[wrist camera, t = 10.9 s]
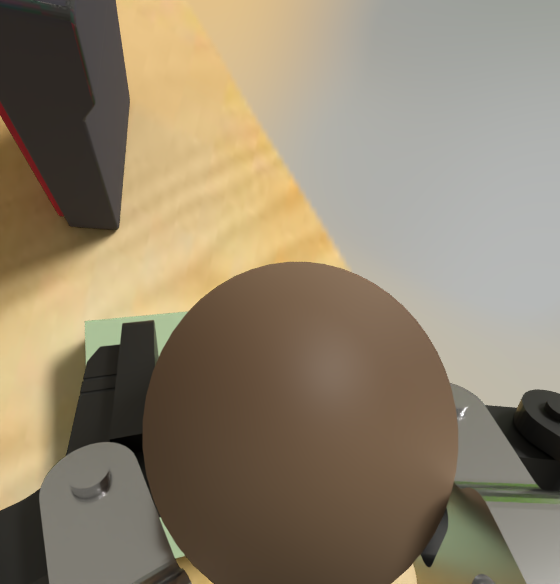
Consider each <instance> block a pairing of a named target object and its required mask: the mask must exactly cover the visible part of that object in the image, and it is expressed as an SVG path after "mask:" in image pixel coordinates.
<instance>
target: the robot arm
mask: <svg viewBox="0 0 560 584" xmlns="http://www.w3.org/2000/svg"><path fill="white" fill-rule="evenodd" d="M158 358H159V355H158V346H157V337H156V329H155V322H154V320H148V321H139V322H129V323H123V324H122V330H121V339H120V344H118V345H109V346H101V347H99V348H98V349H97V351H96V352H95V353H94V354H93V355H92V356H91V358H90V359H89V360H88V361H87V364H86V369H85V373H84V378H83V379H84V381H83V382H82V387H81V391H80V396H79V400H78V405H77V409H76V414H75V418H74V423H73V427H72V432H71V436H70V441H69V445H68V450H67V454H66V456H65V457H64V458H63V459H61V460H60V461H59V462H58V463H57V464H56V465H55V466H54V467H53V468H52V469H51V470H50V471H49V473H48V474H47V476H46V477H45V479H44V481H43V483H42V486H41V488H40V489H39V490H37V491H36V492H35V493H33V494H32V495H30V496H29V497H27V498H26V499H24V500H22V501H20V502H18V503H16V504H14V505H12V506H10V507H8V508H5V509H3V510H1V511H0V584H192V583H191V581H190V579H189V577H188V575H187V574H186V572H185V570H184V569H183V568H182V569H180V567H179V566H178V564H177V562H176V559H175V557H174V555H173V552H172V549H171V547H170V544H169V542H168V539H167V536H166V534H165V531H164V529H163V526H162V523H161V521H160V517H161V516H160V514H159V512H158V509H157V507H156V505H155V502H154V500H153V497H152V493H151V490H150V486H149V482H148V479H147V475H146V469H145V462H144V454H143V415H144V408H145V400H146V395H147V391H148V387H149V384H150V380H151V376H152V373H153V370H154V368H155V365H156V363H157V361H158ZM450 386H451V389H452V393H453V398H454V402H455V407H456V414H457V423H458V458H457V467H456V474H455V479H454V483H453V488H452V492H451V495H450V498H449V501H448V504H447V507H446V510H445V513H444V515H443V517H442V519H441V521H440V523H439V525H438V527H437V529H436V532H435V534H434V535H433V537H432V538H431V540H430V541H429V543H428V544H427V546H426V547H425V549H424V550H423V552H422V553H421V554H420V555H419V557H418V558H417V559H416V560H415V561H414V562H413V565H414V568H415V572H416V578H417V584H560V394H558V393H556V392H552V391H547V390H531V391H528V392H526V393H525V394H524V395H523V397H522V399H521V401H520V403H519V405H518V407H517V408H512V407H501V406H488V405H484V403H483V402H482V401H481V400H480V399H479V398H478V397H477V396H476V395H474V394H473V393H471V392H470V391H468V390H466V389H465V388H463V387H460V386H458V385H455V384H452V383H450Z"/></svg>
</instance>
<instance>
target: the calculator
mask: <svg viewBox="0 0 560 584" xmlns="http://www.w3.org/2000/svg"><path fill="white" fill-rule="evenodd" d="M129 105H130V97H129V90H128V83H127V76H126V70H125V63H124V56H123V49H122V42H121V35H120V28H119V21H118V14H117V7H116V0H0V116H1V117H2V119H3V121H4V123H5V124H6V126H7V128H8V129H9V131H10V133H11V135H12V136H13V138H14V140H15V141H16V143H17V145H18V147H19V148H20V150H21V152H22V153H23V155H24V157H25V159H26V160H27V162H28V164H29V165H30V167H31V169H32V171H33V172H34V174H35V176H36V177H37V179H38V181H39V183H40V184H41V186H42V188H43V189H44V191H45V193H46V195H47V196H48V198H49V200H50V201H51V203H52V205H53V207H54V208H55V210H56V212H57V213H58V215H59V216H64V217H65V219H66V220H67V222H68V224H69V225H70V226H71V227H84V228H98V229H115V230H116V229H118V228H119V223H120V211H121V199H122V187H123V175H124V164H125V152H126V140H127V128H128V116H129Z"/></svg>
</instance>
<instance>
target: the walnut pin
mask: <svg viewBox="0 0 560 584" xmlns="http://www.w3.org/2000/svg"><path fill="white" fill-rule="evenodd" d="M143 454H144V462H145V469H146V475H147V479H148V482H149V486H150V490H151V493H152V497H153V500H154V502H155V505H156V507H157V509H158V512H159V514H160V516H161V519H162V521H163V523H164V525H165V527H166V528H167V530H168V532H169V533H170V535H171V537H172V538H173V540H174V541H175V543H176V545H177V546H178V547H179V549H180V550H181V551H182V552H183V553H184V555H185V556H186V557H187V558H188V559H189V561H190V562H191V563H192V564H193V566H195V567H196V568H197V569H198V570H199V571H200V572H201V573H202V574H204V575H205V576H206V577H207V578H208V579H209V580H210V581H211V582H213V583H214V584H391V583H392V582H394V581H395V580H396V579H397V578H398V577H399V576H400V575H402V574H403V573H404V572H405V571H406V570H407V569H408V568H409V567H410V566H411V565H412V564H413V562H414V561H415V560H416V559H417V558H418V557H419V555H420V554H421V553H422V552H423V550H424V549H425V547H426V546H427V544H428V543H429V541H430V540H431V538H432V537H433V535H434V534H435V532H436V529H437V527H438V525H439V523H440V521H441V519H442V517H443V515H444V513H445V510H446V507H447V504H448V501H449V498H450V495H451V492H452V488H453V483H454V479H455V474H456V467H457V458H458V423H457V414H456V407H455V402H454V398H453V393H452V389H451V386H450V383H449V380H448V377H447V374H446V371H445V368H444V366H443V364H442V362H441V359H440V357H439V355H438V353H437V351H436V349H435V348H434V346H433V344H432V342H431V341H430V339H429V337H428V336H427V334H426V333H425V331H424V330H423V329H422V327H421V326H420V325H419V324H418V322H417V321H416V319H415V318H414V317H413V316H412V315H411V314H410V313H409V312H408V311H407V310H406V309H405V307H404V306H403V305H401V304H400V303H399V302H398V301H397V300H396V299H395V298H393V297H392V296H391V295H390V294H389V293H387V292H386V291H384V290H383V289H381V288H380V287H379V286H377V285H376V284H374V283H372V282H370V281H368V280H367V279H365V278H363V277H361V276H359V275H357V274H354V273H352V272H349V271H346V270H344V269H341V268H337V267H333V266H329V265H325V264H319V263H311V262H285V263H277V264H270V265H266V266H262V267H259V268H255V269H251V270H249V271H247V272H244V273H242V274H239V275H237V276H235V277H233V278H231V279H229V280H228V281H226V282H224V283H222V284H221V285H219V286H217V287H216V288H215V289H213V290H212V291H211V292H209V293H208V294H207V295H205V296H204V297H203V298H202V299H200V300H199V301H198V302H197V303H196V304H195V305H194V306H193V307H192V309H191V310H190V311H189V312H188V313H187V314H186V315H185V316H184V317H183V319H182V320H181V321H180V323H179V324H178V325H177V327H176V328H175V329H174V330H173V332H172V334H171V335H170V337H169V339H168V341H167V342H166V344H165V346H164V347H163V349H162V351H161V353H160V356H159V358H158V361H157V363H156V365H155V368H154V370H153V373H152V376H151V380H150V384H149V387H148V391H147V395H146V400H145V408H144V415H143Z"/></svg>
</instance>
